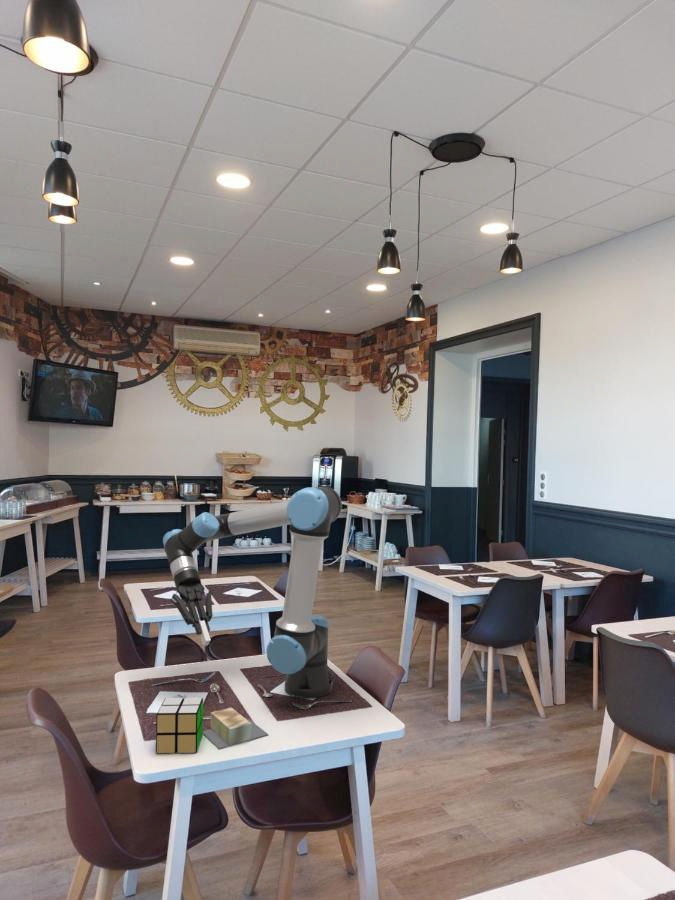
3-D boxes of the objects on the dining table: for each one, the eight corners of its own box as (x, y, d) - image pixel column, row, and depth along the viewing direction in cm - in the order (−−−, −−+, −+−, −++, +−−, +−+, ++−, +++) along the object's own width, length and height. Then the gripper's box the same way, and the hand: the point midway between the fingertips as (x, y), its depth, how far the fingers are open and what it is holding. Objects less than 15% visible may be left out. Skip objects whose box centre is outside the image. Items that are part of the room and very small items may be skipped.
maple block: (231, 707, 166) (251, 723, 157) (230, 722, 166) (251, 739, 157) (210, 712, 163) (230, 729, 153) (210, 727, 163) (229, 745, 153)
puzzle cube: (164, 735, 158) (164, 697, 159) (202, 735, 159) (203, 696, 159) (155, 754, 148) (156, 713, 149) (196, 753, 149) (197, 713, 149)
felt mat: (249, 720, 168) (249, 719, 168) (268, 735, 159) (268, 734, 159) (201, 732, 160) (201, 731, 160) (218, 749, 151) (218, 748, 151)
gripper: (201, 579, 193) (223, 646, 179) (161, 584, 185) (181, 654, 172) (209, 565, 189) (232, 632, 175) (168, 569, 181) (188, 639, 167)
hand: (206, 643), depth 173 cm, fingers closed
